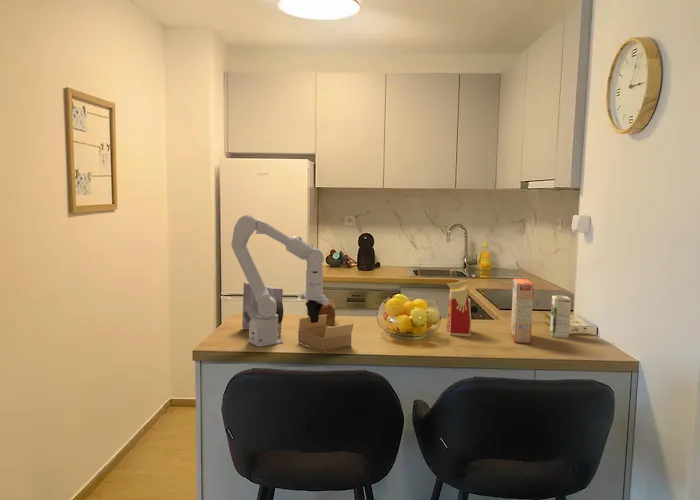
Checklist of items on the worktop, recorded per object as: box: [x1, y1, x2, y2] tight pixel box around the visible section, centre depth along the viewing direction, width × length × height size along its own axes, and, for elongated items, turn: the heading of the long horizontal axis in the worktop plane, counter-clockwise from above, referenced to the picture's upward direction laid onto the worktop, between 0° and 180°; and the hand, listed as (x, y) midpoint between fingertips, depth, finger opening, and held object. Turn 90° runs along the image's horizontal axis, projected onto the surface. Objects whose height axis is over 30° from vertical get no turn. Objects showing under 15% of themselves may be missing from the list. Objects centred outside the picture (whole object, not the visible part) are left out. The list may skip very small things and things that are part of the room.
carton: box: [297, 326, 352, 353], centre depth 185 cm, size 12×14×4 cm
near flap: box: [323, 323, 354, 339], centre depth 179 cm, size 11×4×1 cm
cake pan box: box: [241, 281, 284, 335], centre depth 201 cm, size 19×5×18 cm, turn 47°
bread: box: [307, 298, 336, 327], centre depth 216 cm, size 19×11×10 cm, turn 3°
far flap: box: [298, 315, 327, 330], centre depth 190 cm, size 11×4×1 cm
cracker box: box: [510, 278, 535, 344], centre depth 196 cm, size 14×6×21 cm, turn 168°
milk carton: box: [445, 279, 472, 337], centre depth 204 cm, size 9×9×20 cm
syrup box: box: [549, 295, 572, 339], centre depth 201 cm, size 6×6×14 cm
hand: (314, 322), depth 190 cm, fingers closed, pressing on far flap
